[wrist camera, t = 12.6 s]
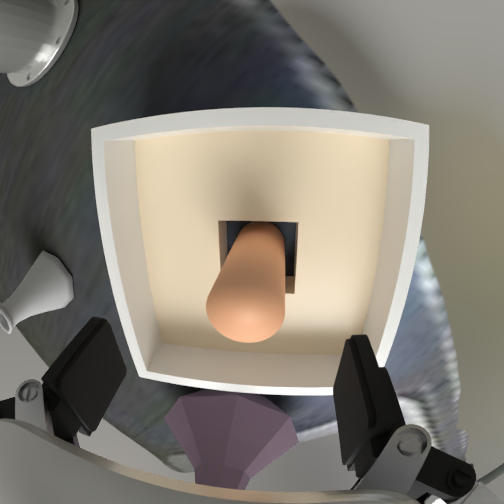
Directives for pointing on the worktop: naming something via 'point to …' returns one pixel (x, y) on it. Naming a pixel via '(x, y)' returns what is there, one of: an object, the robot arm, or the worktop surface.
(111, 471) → the robot arm
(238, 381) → the box
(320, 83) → the worktop surface
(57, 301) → the flask
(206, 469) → the flask
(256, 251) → the peg
